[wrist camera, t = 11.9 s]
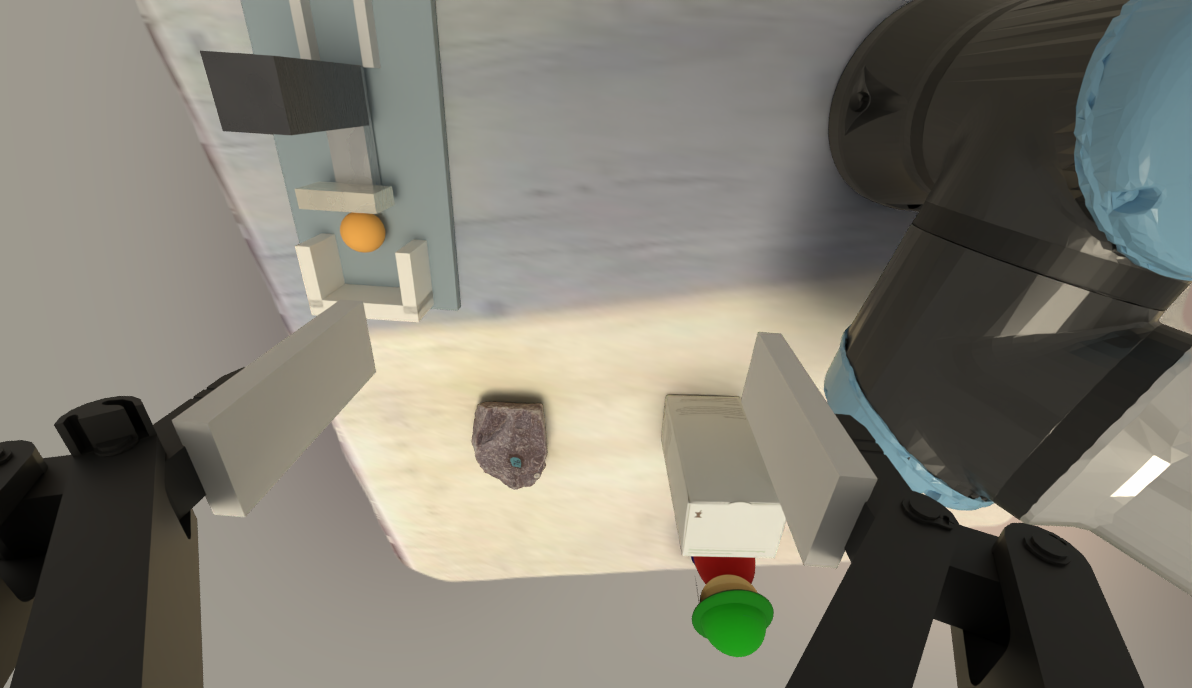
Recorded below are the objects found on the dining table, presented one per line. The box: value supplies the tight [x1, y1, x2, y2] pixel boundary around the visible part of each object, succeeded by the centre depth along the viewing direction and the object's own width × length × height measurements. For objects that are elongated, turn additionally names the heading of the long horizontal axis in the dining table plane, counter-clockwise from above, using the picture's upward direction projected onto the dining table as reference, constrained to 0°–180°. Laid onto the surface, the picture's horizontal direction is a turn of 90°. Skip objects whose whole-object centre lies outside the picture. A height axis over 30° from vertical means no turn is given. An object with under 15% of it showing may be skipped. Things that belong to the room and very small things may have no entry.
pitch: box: [241, 0, 461, 311], centre depth 37 cm, size 34×14×2 cm, turn 177°
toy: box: [691, 556, 774, 657], centre depth 53 cm, size 9×9×15 cm
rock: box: [472, 402, 547, 490], centre depth 52 cm, size 8×11×5 cm
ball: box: [340, 212, 385, 253], centre depth 40 cm, size 4×4×4 cm
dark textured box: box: [200, 51, 395, 214], centre depth 33 cm, size 10×6×12 cm, turn 177°
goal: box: [295, 233, 434, 322], centre depth 42 cm, size 6×10×4 cm, turn 87°
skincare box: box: [661, 395, 786, 558], centre depth 45 cm, size 8×7×16 cm
